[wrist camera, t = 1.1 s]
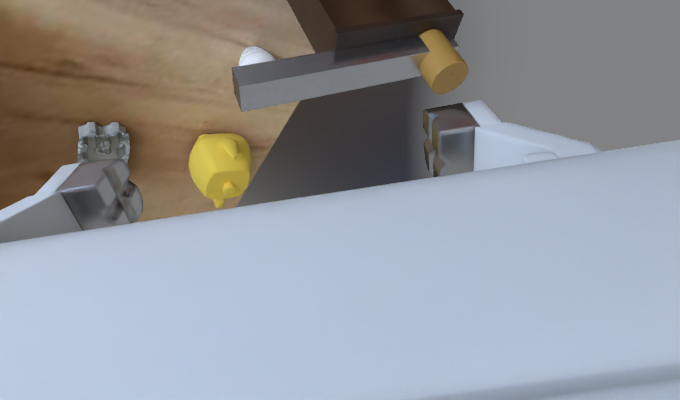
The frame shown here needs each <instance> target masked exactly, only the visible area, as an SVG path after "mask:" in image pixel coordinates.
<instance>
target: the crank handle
mask: <svg viewBox="0 0 680 400" xmlns="http://www.w3.org/2000/svg"><path fill="white" fill-rule="evenodd" d="M458 49H459V45H458V44H457V43H456V42H455V40H454V39H453V38H452V36H451V35H450V34H449V32H448V31H444V32H441V31H440V30H437V29H432V30H428V31H426V32H424V33H422V34H421V35H419V36H414V37H409V38H403V39H397V40H391V41H385V42H379V43H373V44H367V45H362V46H356V47H350V48H344V49H338V50H332V51H326V52H320V53H315V54H309V55H303V56H297V57H291V58H285V59H279V60H273V61H268V62H262V63H256V64H250V65H244V66H238V67H232V75H233V85H234V93H235V96H236V99H237V101H238V104H239V106H240V109H241V112H244V111H249V110H254V109H259V108H264V107H269V106H274V105H279V104H284V103H289V102H294V101H299V100H303V99H309V98H314V97H319V96H324V95H329V94H333V93H339V92H344V91H349V90H353V89H359V88H364V87H368V86H374V85H379V84H383V83H388V82H393V81H398V80H403V79H408V78H413V77H418V76H422V77H423V78H424V79H425V81H426V82H427V84H428V85H429V87H430V88H431V90H432V91H433V92H434V93H436V94H445V93H448V92H450V91H452V90H454V89H455V88H457V87H458V86H459V85H460V84H461V83H462V82H463V81H464V79H465V78H466V76H467V74H468V65H467V64H466V63H465V61H464V60H463V59H462V57H461V56H460V55H459V53H458V52H457V51H458Z"/></svg>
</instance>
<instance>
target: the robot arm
mask: <svg viewBox="0 0 680 400" xmlns="http://www.w3.org/2000/svg"><path fill="white" fill-rule="evenodd" d="M423 128H424V130H425V131H426V134H427V135H428V136H427V138H426V139H425V141H424V153H425V160H426V165H427V168H428V171H429V173H430V175H432V176H434V177H433V178H427V179H420V180H413V181H406V182H400V183H393V184H387V185H381V186H374V187H367V188H361V189H355V190H347V191H341V192H335V193H328V194H321V195H315V196H308V197H301V198H295V199H289V200H282V201H275V202H269V203H262V204H255V205H249V206H242V207H236V208H229V209H223V210H216V211H209V212H203V213H196V214H190V215H183V216H177V217H170V218H163V219H157V220H150V221H144V222H137V223H134V222H135V221H137V220H138V219H139V218H140V216H141V214H142V212H143V200H142V196H141V193H140V191H139V188H138V186H136V185H135V184H134V183H132V182H131V181H129V178H130V174H131V171H130V169H129V167H128V165H127V163H126V162H125V161H124V160H123V159H121V158H115V159H108V160H100V161H93V162H86V163H83V162H81V163H76V164H70V165H64V166H62V167H61V168H60V169H59V170H58V171H57V172H56V173H55V174H54V175H53V176H52V177H51V178H50V179H49V180H48V182H47V183H46V184H45V185H44V186H43V187H42V188H41V189H40V190H39V191H38V192H37V193H36V194H35V195H34V196H28V197H26V198H24V199H22V200H20V201H18V202H16V203H14V204H12V205H10V206H8V207H6V208H4V209H2V210H0V400H680V140H676V141H670V142H663V143H657V144H650V145H644V146H637V147H631V148H624V149H618V150H611V151H604V152H601V151H600V150H599V149H598V148H597V147H596V146H594V145H593V144H592V143H588V142H584V141H580V140H576V139H572V138H568V137H565V136H561V135H556V134H553V133H549V132H545V131H541V130H537V129H533V128H529V127H525V126H521V125H517V124H513V123H509V122H506V123H502V122H501V121H500V120H499V119H498V118H497V117H496V116H495V115H494V113H493V112H492V111H491V110H490V109H489V108H488V107H487V106H486V105H485V103H484V102H483V101H482V100H478V101H473V102H467V103H463V104H462V103H458V104H453V105H447V106H442V107H436V108H431V109H425V110H424V111H423Z"/></svg>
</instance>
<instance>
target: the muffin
mask: <svg viewBox="0 0 680 400" xmlns="http://www.w3.org/2000/svg"><path fill="white" fill-rule="evenodd" d="M273 60H275V58H274V57H273V56H272V55H271V54H269V52H266V51H265V50H263V49H261V48H259V47H256V46H251V47H248V48H246V49H245V50H244V51H243V53H242V55H241V58H240V61H239V65H238V66H244V65H250V64H256V63H262V62H268V61H273Z"/></svg>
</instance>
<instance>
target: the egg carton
mask: <svg viewBox="0 0 680 400" xmlns="http://www.w3.org/2000/svg"><path fill="white" fill-rule="evenodd" d="M78 130H79V137H80V141H79V143H78V154H77V162H76V163H81V162H83V163H86V162H93V161H100V160H108V159H115V158H121V159H123V160H124V161H125V162H126V163H127V162H128V159H129V151H130V142H129V134H128V133H127V134H126V128H125V127H123V126H121V125H120V124H119V123H118V122H111V124H110V125H108V126H104V127H102V126H101V127H100V126H98V125H96V124H95V122H87V124H86V125H84V126H79V127H78Z"/></svg>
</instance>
